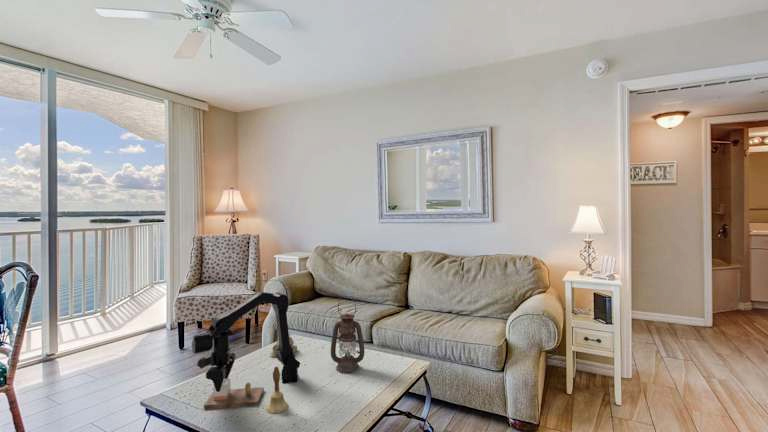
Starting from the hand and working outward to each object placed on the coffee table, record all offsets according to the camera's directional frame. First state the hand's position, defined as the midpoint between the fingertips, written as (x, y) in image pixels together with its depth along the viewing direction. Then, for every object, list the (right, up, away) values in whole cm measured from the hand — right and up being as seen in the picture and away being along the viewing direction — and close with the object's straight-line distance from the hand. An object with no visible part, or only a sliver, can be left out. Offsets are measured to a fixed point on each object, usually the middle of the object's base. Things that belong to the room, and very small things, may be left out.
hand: (221, 386), depth 148 cm
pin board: (+5, -6, +1) cm, 8 cm away
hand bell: (+24, -6, -6) cm, 26 cm away
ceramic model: (+12, -6, +49) cm, 51 cm away
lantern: (+48, -5, +29) cm, 56 cm away
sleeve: (0, -4, 0) cm, 4 cm away
